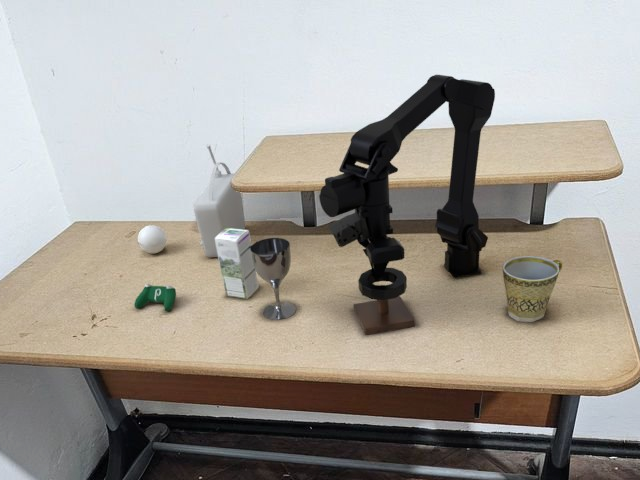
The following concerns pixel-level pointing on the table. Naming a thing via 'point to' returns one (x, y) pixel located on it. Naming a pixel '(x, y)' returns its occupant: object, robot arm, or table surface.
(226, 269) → the syrup box
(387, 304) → the peg stand
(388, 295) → the ring
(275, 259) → the silver metal goblet
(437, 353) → the table surface
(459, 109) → the robot arm
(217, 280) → the table surface
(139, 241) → the white light bulb
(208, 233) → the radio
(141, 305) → the gaming controller
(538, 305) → the ceramic cup
